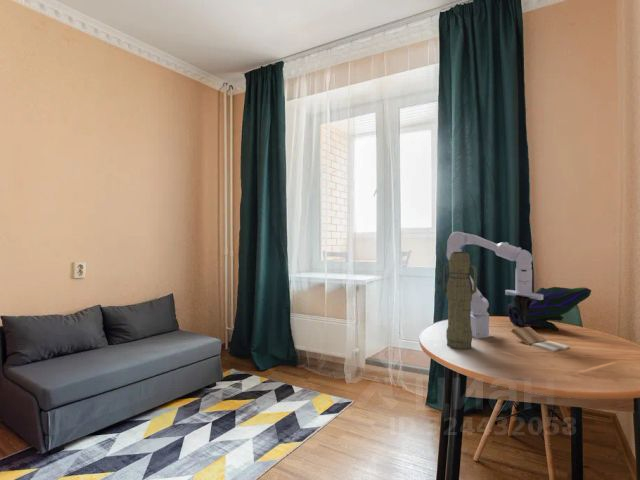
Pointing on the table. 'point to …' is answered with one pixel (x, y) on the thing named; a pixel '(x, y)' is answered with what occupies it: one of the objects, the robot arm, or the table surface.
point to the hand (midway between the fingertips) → (523, 315)
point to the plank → (528, 335)
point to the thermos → (459, 300)
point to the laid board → (550, 346)
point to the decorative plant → (548, 306)
